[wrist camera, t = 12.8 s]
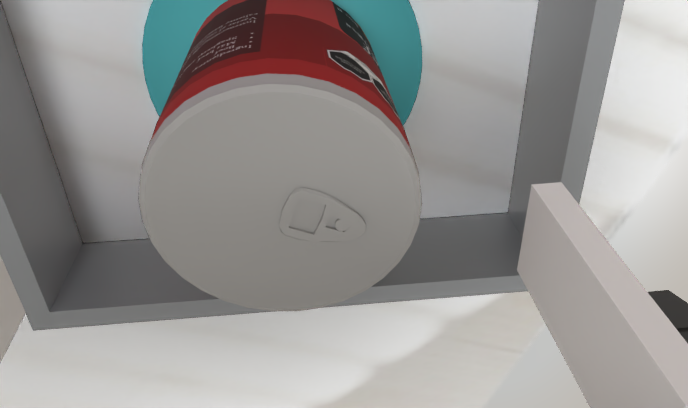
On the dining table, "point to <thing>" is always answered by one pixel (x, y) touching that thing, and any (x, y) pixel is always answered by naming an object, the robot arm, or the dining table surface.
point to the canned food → (280, 160)
